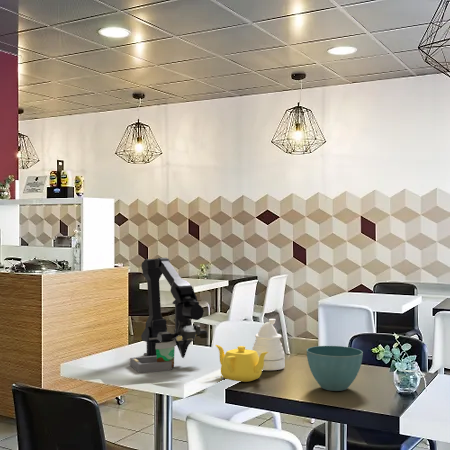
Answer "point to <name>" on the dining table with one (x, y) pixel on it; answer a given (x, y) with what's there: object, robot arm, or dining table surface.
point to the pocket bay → (149, 364)
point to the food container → (166, 351)
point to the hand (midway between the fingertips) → (182, 357)
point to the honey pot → (270, 346)
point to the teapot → (241, 364)
